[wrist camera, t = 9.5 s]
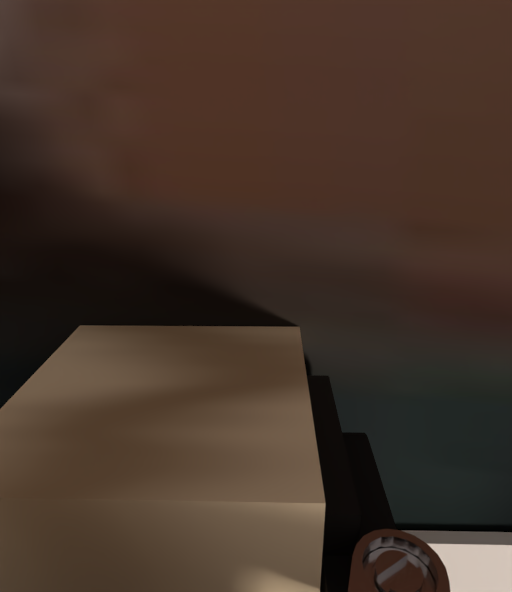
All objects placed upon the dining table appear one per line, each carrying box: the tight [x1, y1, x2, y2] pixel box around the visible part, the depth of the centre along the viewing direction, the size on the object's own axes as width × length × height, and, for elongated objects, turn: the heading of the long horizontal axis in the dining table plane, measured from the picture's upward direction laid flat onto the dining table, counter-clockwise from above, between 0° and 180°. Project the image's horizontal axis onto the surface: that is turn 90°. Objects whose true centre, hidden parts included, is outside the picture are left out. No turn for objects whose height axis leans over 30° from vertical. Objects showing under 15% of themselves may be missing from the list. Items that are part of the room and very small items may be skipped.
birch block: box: [0, 325, 326, 592], centre depth 9 cm, size 5×5×5 cm
